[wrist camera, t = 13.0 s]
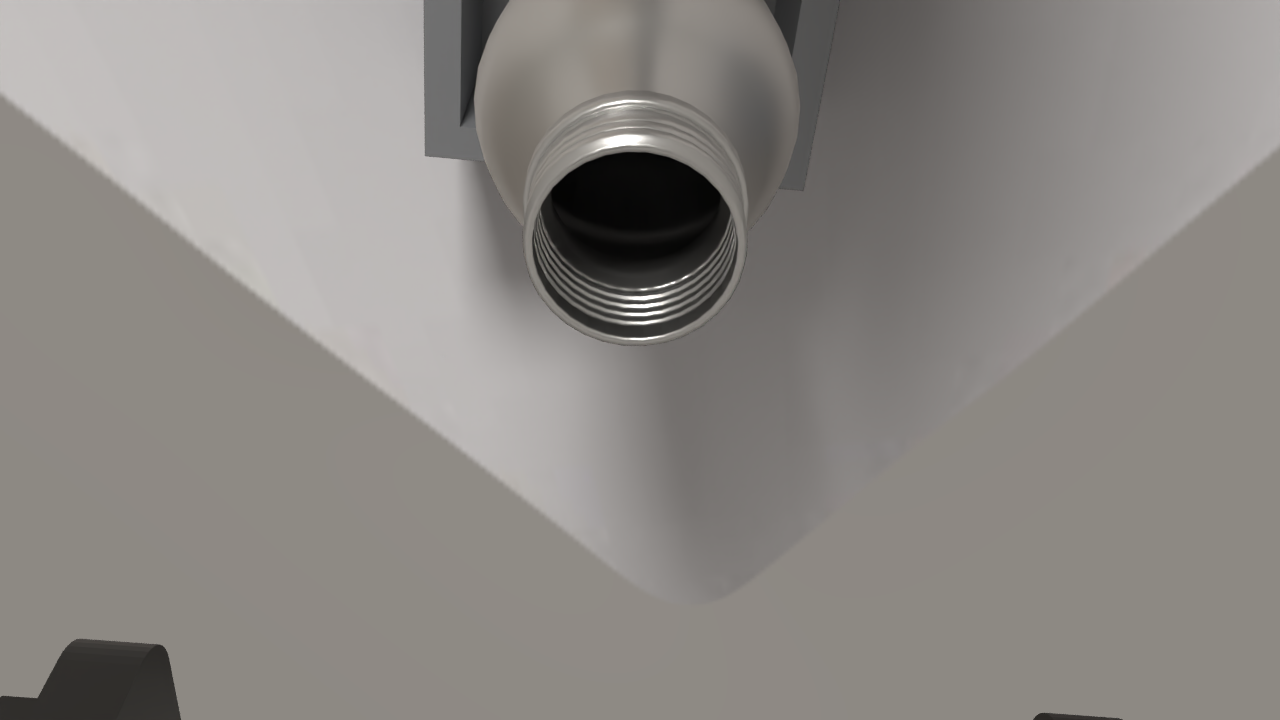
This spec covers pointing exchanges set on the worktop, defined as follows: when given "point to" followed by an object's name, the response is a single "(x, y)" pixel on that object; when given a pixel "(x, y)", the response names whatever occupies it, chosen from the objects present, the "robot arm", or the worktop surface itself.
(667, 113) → the plastic bottle
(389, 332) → the worktop surface
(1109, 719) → the robot arm
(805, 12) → the storage caddy
